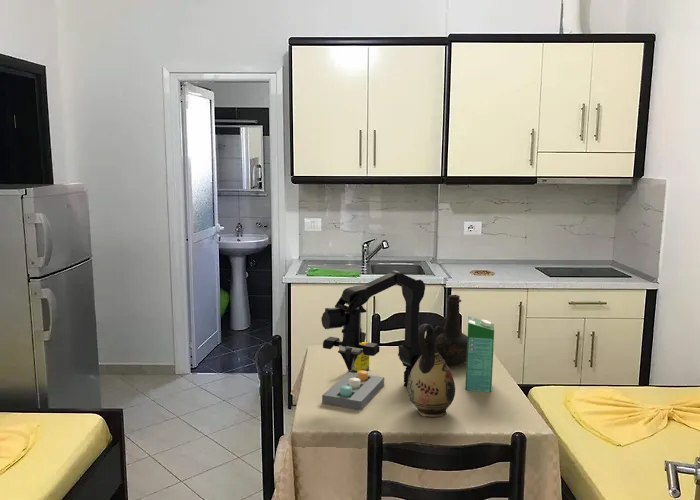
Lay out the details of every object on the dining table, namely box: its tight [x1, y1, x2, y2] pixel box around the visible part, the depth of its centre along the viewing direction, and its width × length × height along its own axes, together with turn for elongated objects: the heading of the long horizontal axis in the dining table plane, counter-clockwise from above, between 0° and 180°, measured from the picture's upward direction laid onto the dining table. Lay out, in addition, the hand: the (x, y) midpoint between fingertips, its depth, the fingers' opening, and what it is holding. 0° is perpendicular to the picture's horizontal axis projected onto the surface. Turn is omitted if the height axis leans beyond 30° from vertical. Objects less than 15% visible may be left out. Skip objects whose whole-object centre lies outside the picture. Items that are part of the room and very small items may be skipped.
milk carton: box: [465, 316, 495, 393], centre depth 217 cm, size 9×9×25 cm
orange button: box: [357, 370, 369, 381], centre depth 217 cm, size 4×4×3 cm
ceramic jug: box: [406, 323, 456, 418], centre depth 194 cm, size 17×15×30 cm
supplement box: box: [350, 341, 370, 373], centre depth 234 cm, size 6×6×11 cm
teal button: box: [340, 385, 352, 398], centre depth 203 cm, size 4×4×3 cm
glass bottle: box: [435, 294, 468, 367], centre depth 242 cm, size 18×18×28 cm
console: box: [321, 371, 385, 411], centre depth 210 cm, size 14×24×3 cm, turn 158°
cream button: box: [349, 378, 360, 389], centre depth 210 cm, size 4×4×3 cm
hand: (350, 370), depth 204 cm, fingers closed
